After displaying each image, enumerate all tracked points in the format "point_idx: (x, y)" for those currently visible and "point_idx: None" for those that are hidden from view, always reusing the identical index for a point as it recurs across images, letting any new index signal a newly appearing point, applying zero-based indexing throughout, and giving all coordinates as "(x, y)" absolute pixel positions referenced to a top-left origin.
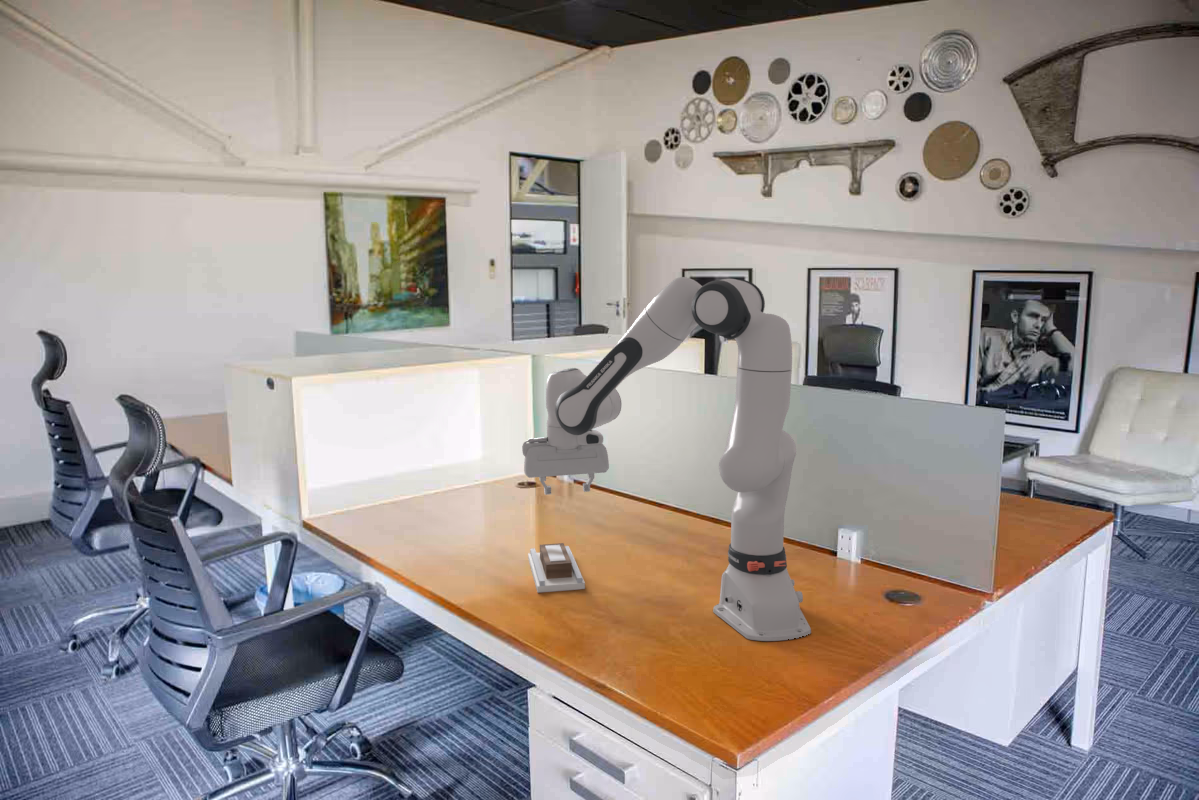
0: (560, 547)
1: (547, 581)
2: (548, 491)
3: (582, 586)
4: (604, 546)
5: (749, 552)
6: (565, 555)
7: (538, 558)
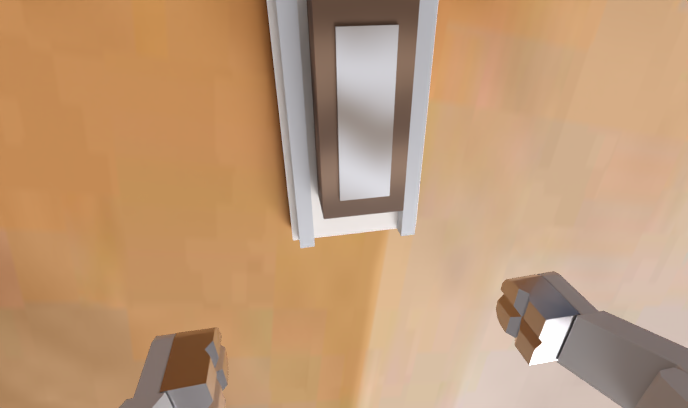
0: (340, 174)
1: None
2: (544, 290)
3: None
4: (192, 292)
5: None
6: (329, 95)
7: None
